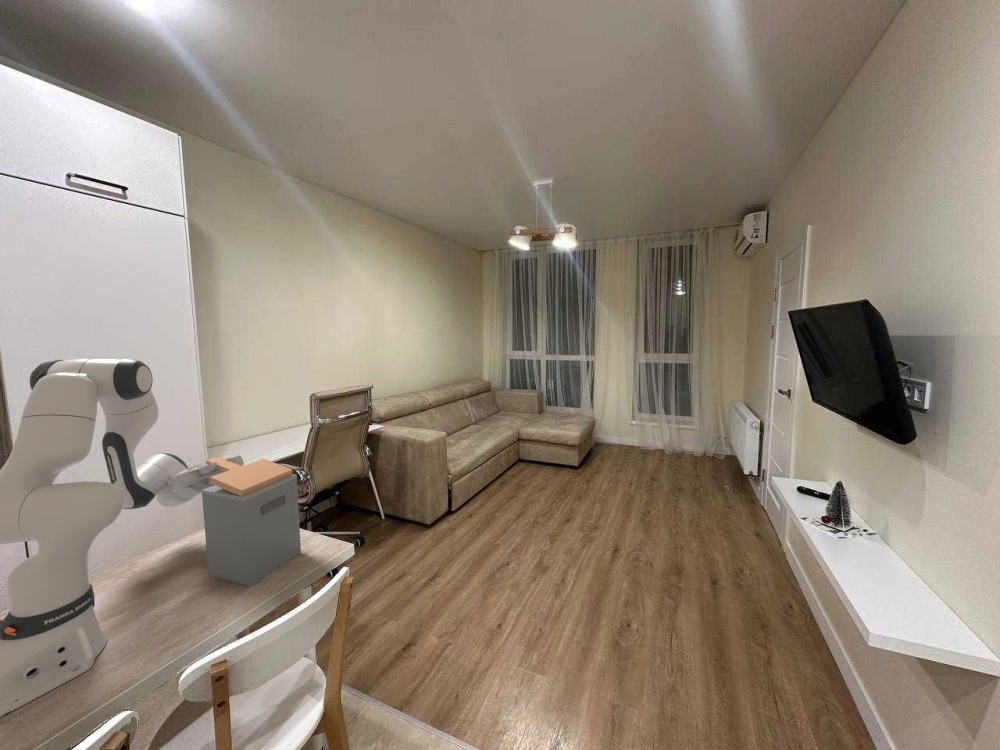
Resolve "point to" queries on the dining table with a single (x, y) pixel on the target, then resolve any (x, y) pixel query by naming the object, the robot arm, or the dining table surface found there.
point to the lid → (247, 475)
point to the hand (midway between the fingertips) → (223, 462)
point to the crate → (251, 530)
